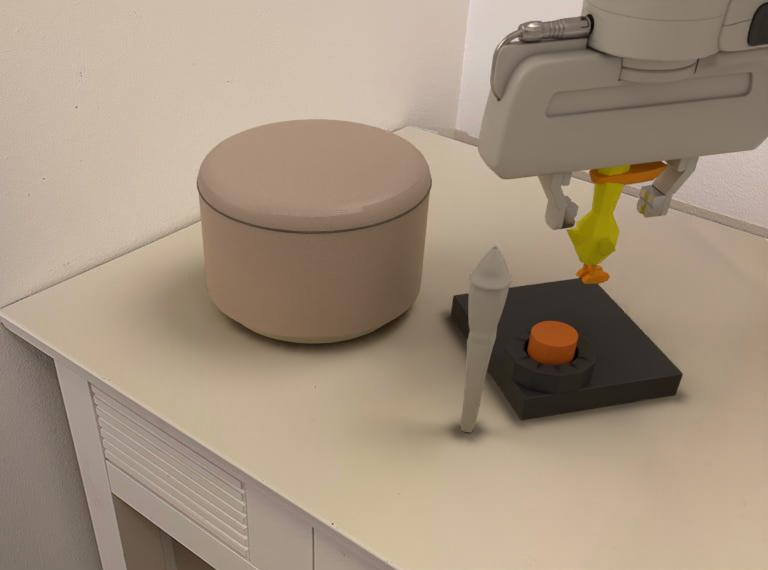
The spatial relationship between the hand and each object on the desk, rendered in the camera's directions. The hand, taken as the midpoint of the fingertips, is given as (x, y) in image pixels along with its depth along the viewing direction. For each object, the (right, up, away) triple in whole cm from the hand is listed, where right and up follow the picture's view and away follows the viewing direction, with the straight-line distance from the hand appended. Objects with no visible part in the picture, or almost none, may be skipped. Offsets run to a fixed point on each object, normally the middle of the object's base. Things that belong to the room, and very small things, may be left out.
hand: (605, 219), depth 64 cm
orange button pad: (-2, -9, +4) cm, 10 cm away
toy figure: (0, -4, +3) cm, 5 cm away
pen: (-11, -15, -2) cm, 19 cm away
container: (-21, -3, +11) cm, 24 cm away
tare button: (-4, -10, -1) cm, 11 cm away
